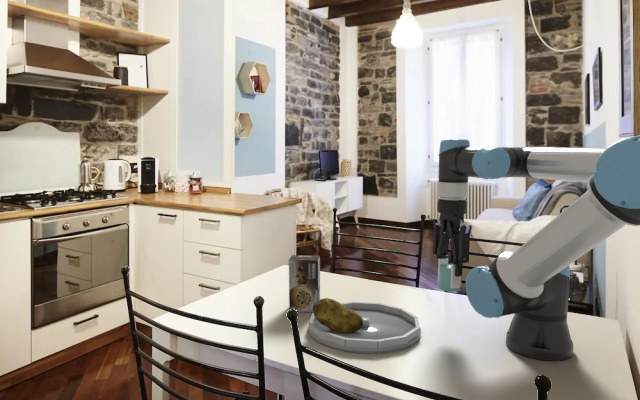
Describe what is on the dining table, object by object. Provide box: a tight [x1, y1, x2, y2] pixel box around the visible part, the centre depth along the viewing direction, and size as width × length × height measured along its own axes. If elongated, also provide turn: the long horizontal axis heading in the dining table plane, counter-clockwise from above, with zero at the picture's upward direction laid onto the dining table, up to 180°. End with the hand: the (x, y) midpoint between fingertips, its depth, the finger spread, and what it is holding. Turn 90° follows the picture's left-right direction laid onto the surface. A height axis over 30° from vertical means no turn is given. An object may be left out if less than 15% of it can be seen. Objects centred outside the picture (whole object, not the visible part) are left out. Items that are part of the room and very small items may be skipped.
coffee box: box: [288, 254, 321, 313], centre depth 143 cm, size 9×6×16 cm
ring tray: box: [308, 301, 422, 355], centre depth 127 cm, size 30×30×3 cm
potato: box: [312, 297, 363, 333], centre depth 124 cm, size 8×13×8 cm, turn 57°
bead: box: [438, 264, 459, 293], centre depth 126 cm, size 5×5×6 cm
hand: (448, 284), depth 126 cm, fingers closed on bead, 5 cm apart
